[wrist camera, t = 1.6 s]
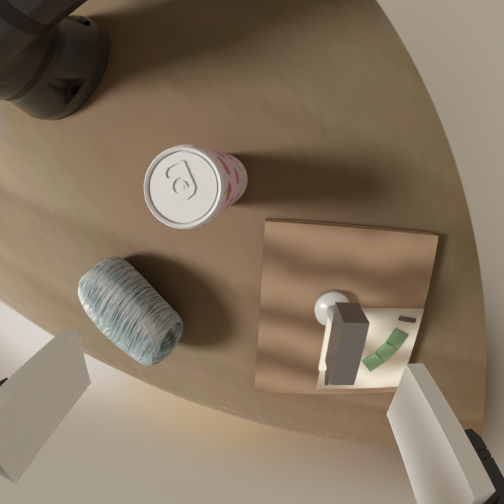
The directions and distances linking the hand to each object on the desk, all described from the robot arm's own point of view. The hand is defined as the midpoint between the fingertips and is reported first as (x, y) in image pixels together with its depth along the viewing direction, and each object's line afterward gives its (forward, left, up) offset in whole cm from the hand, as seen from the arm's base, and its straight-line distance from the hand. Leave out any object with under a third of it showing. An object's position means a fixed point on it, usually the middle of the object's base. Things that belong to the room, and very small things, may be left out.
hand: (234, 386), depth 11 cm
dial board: (+9, +10, -25) cm, 28 cm away
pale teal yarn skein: (+9, -15, -25) cm, 30 cm away
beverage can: (-6, -5, -25) cm, 26 cm away
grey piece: (+9, +8, -23) cm, 26 cm away
